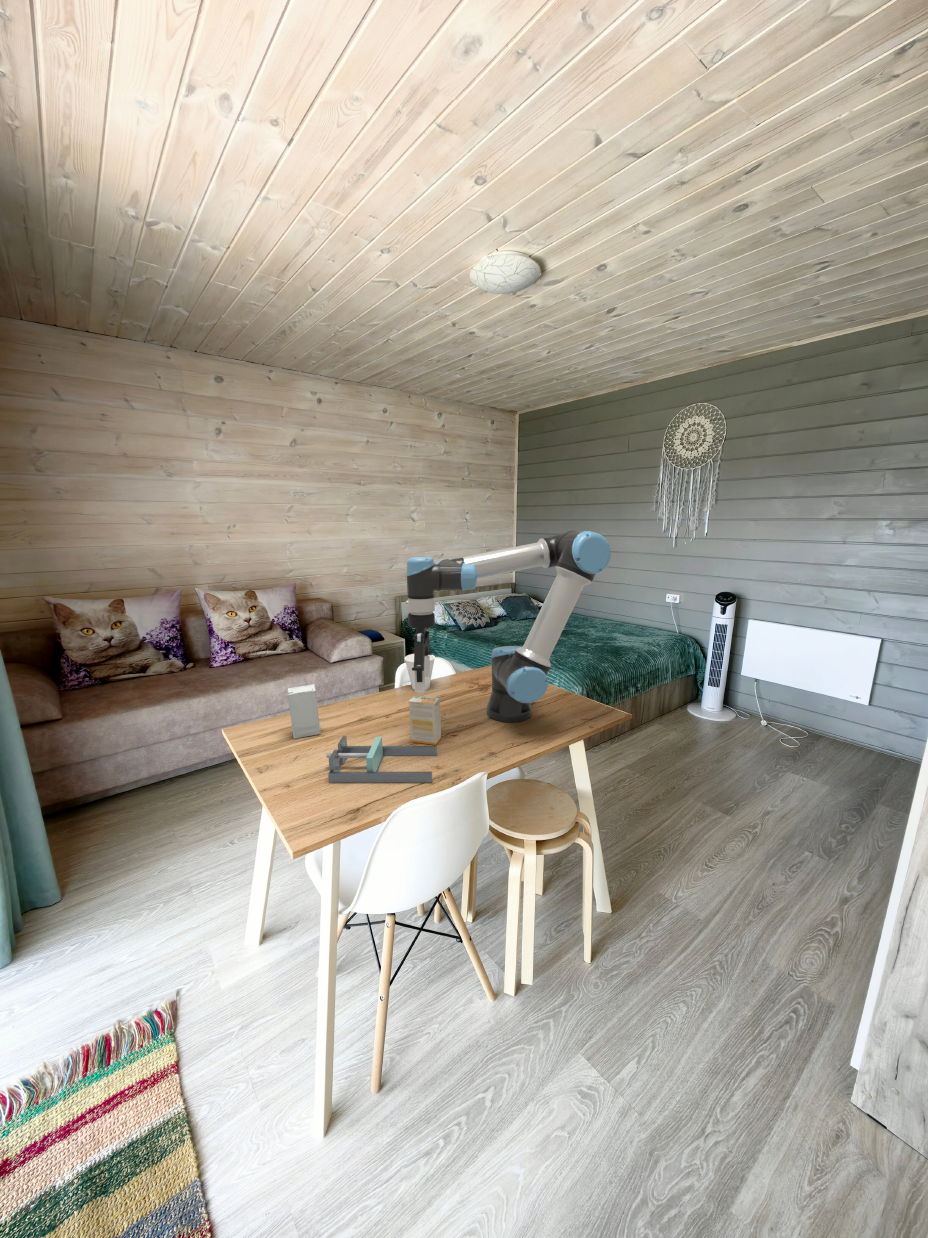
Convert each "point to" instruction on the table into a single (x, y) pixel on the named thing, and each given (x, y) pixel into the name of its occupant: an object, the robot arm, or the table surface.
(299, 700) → the skincare box
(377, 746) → the pusher
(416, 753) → the lane
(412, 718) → the supplement box
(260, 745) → the table surface
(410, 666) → the cup
